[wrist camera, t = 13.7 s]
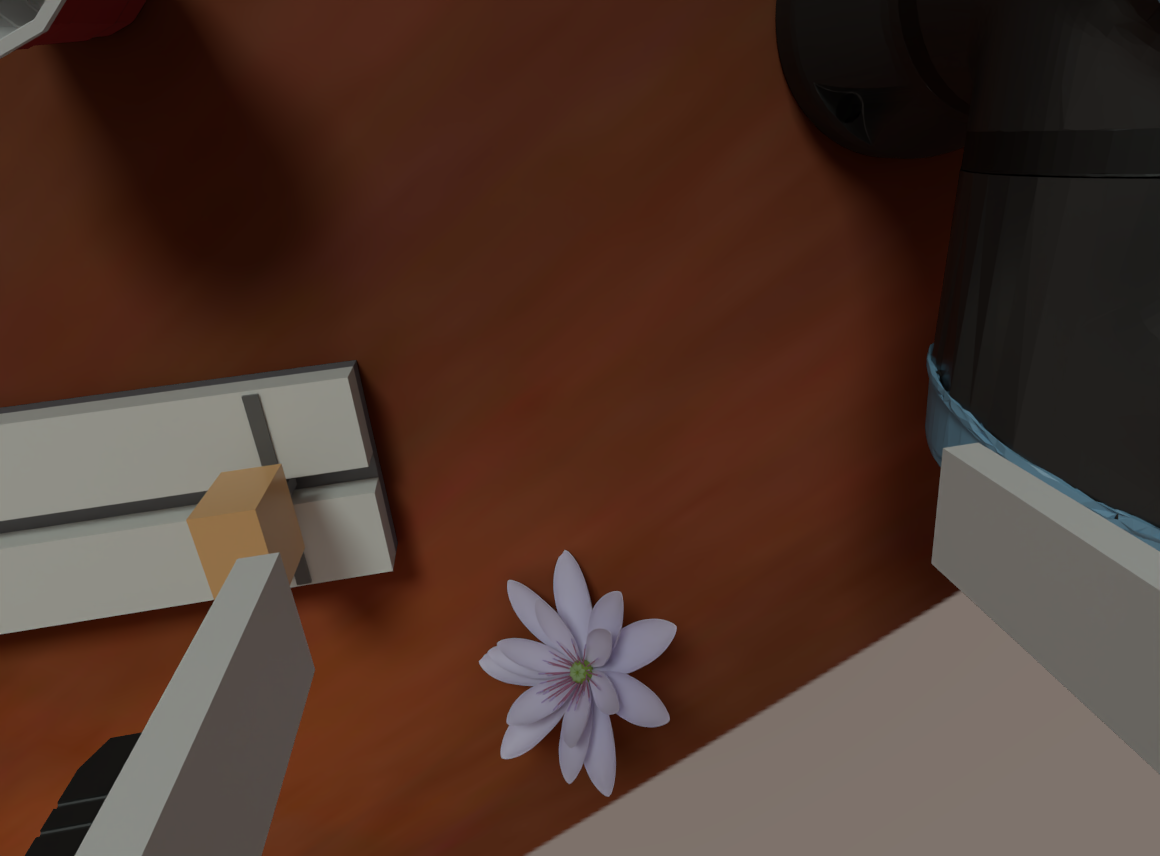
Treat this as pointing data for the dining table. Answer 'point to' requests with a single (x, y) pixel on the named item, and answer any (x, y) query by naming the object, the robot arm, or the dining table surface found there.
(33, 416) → the fader console
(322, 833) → the dining table surface
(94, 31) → the plastic cup
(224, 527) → the fader knob
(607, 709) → the water lily
